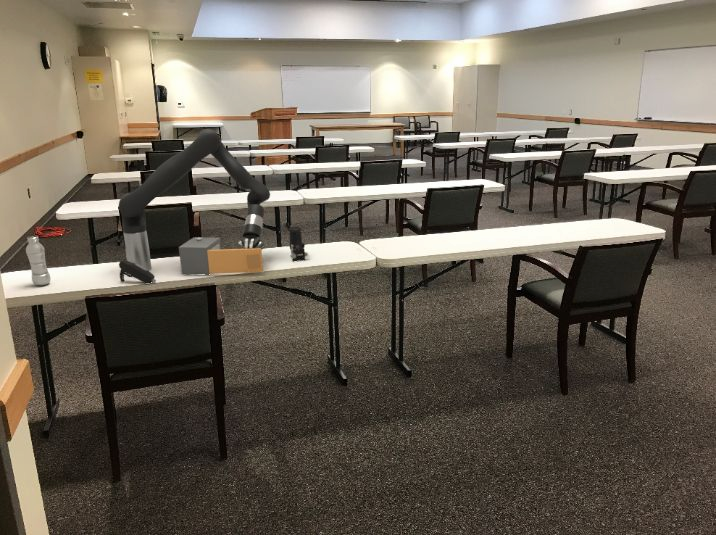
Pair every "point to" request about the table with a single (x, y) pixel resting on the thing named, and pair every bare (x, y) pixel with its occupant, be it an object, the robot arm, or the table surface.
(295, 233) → the scope
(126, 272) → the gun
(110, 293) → the table surface
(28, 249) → the plastic bottle
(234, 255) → the side door
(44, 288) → the table surface
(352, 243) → the table surface
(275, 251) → the table surface
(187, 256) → the grey cabinet body
